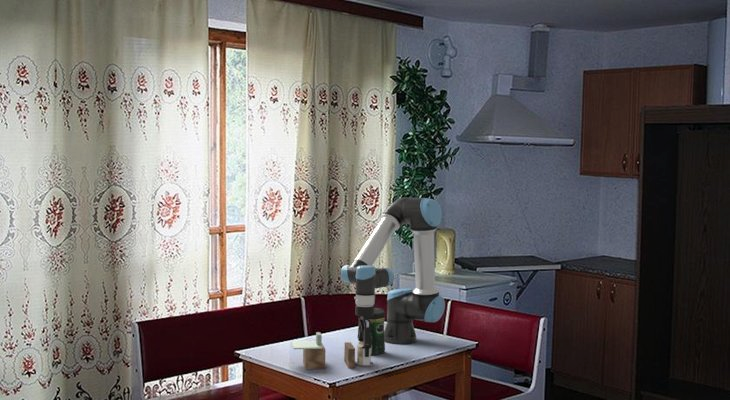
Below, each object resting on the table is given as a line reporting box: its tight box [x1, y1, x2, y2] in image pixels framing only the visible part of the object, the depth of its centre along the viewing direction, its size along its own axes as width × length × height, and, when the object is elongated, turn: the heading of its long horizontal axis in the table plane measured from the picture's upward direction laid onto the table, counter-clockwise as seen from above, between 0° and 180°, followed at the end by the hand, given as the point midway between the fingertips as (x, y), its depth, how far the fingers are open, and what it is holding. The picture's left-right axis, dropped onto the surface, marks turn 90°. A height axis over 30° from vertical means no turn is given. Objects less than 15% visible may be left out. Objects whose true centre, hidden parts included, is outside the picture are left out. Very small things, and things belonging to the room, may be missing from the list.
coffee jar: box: [369, 307, 386, 356], centre depth 329 cm, size 10×8×19 cm
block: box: [356, 343, 372, 365], centre depth 310 cm, size 4×4×7 cm
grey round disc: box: [355, 361, 373, 367], centre depth 310 cm, size 7×7×1 cm
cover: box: [290, 331, 323, 350], centre depth 306 cm, size 11×12×5 cm
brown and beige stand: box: [302, 341, 356, 370], centre depth 308 cm, size 19×11×8 cm, turn 100°
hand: (363, 361), depth 310 cm, fingers open, 10 cm apart
